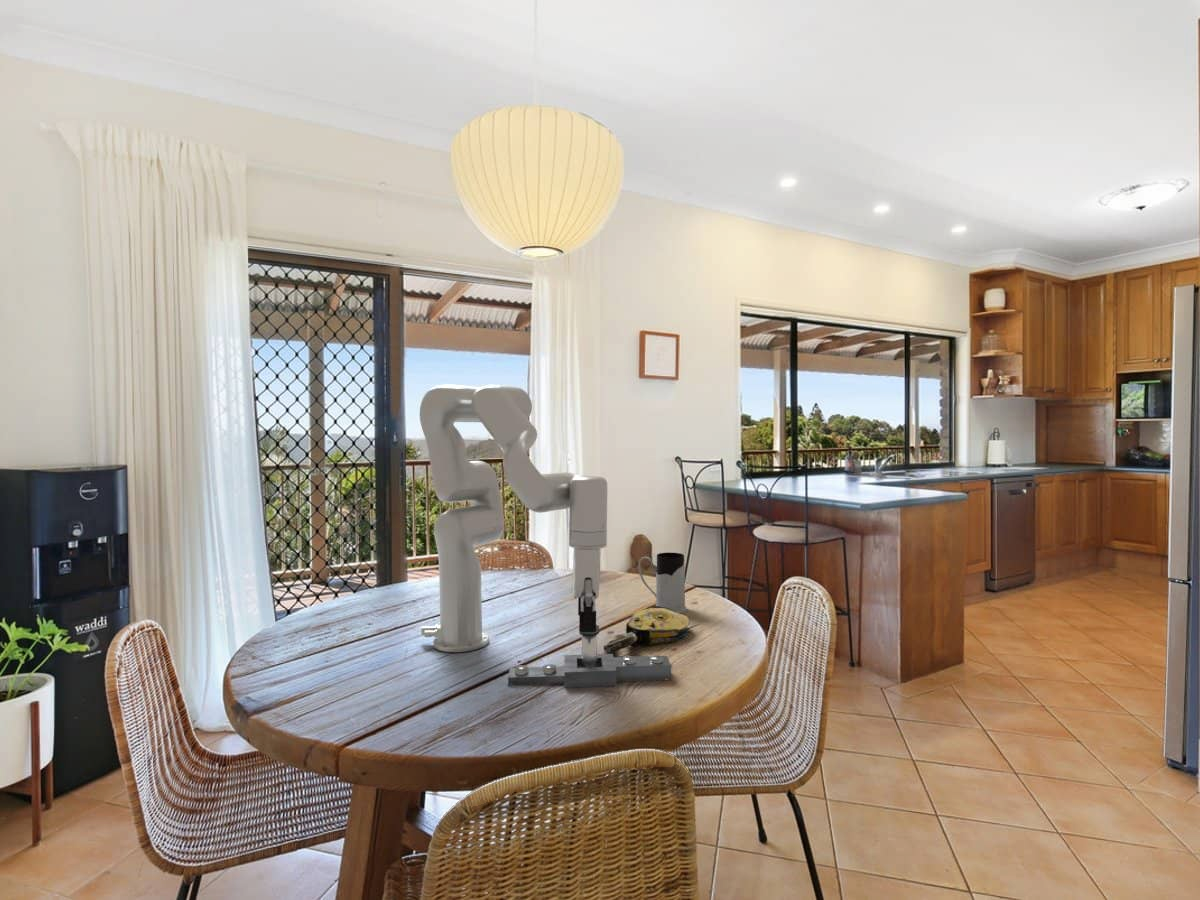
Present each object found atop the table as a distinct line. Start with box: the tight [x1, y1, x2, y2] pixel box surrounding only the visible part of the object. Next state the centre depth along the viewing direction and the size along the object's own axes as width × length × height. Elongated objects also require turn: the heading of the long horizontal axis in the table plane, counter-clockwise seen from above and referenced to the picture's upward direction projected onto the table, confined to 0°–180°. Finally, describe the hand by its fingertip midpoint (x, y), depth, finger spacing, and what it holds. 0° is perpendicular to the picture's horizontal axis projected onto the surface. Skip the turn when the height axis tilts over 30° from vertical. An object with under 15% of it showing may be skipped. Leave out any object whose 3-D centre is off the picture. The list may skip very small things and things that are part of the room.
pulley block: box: [603, 605, 700, 654], centre depth 145 cm, size 14×6×30 cm
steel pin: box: [578, 624, 600, 668], centre depth 122 cm, size 4×4×10 cm
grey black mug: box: [638, 552, 687, 614], centre depth 170 cm, size 9×14×15 cm, turn 58°
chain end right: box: [563, 653, 672, 683], centre depth 123 cm, size 21×9×4 cm, turn 93°
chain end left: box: [507, 663, 617, 689], centre depth 122 cm, size 21×9×2 cm, turn 93°
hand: (586, 623), depth 122 cm, fingers open, 9 cm apart
